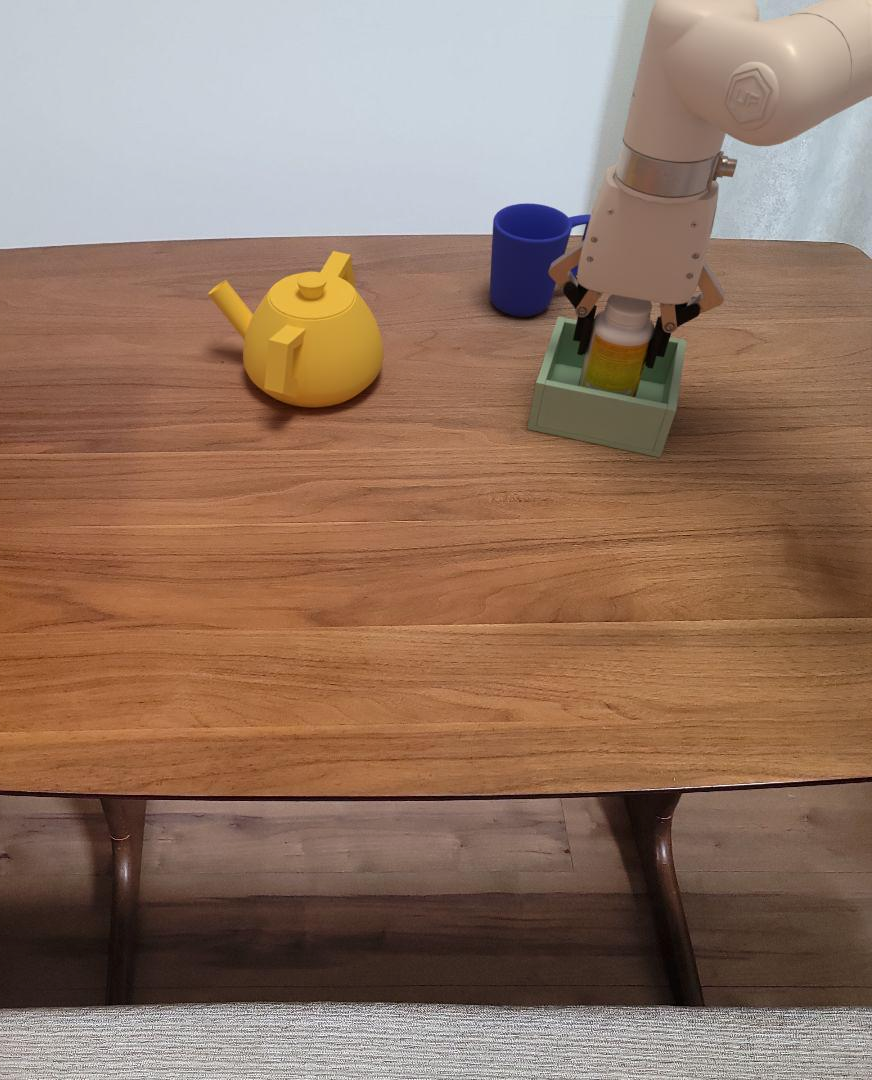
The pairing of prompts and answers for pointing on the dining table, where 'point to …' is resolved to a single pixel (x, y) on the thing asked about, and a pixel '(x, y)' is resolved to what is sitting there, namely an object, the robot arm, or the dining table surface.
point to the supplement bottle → (618, 346)
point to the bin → (605, 398)
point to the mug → (528, 256)
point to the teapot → (308, 336)
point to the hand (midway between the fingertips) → (616, 351)
